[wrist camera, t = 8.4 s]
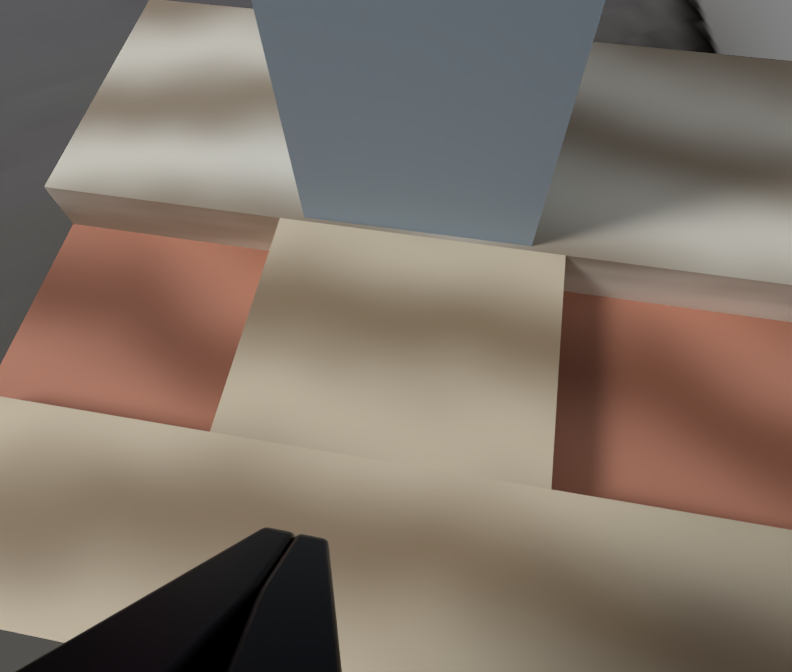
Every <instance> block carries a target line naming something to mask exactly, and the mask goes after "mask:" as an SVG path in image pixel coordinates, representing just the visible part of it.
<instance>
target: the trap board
mask: <svg viewBox="0 0 792 672" xmlns="http://www.w3.org/2000/svg"><path fill="white" fill-rule="evenodd" d="M44 187H45V189H46V190H47V191H48V192H49V194H50V195H51V196H52V197H53V199H54V200H55V201H56V203H57V204H58V205H59V206H60V208H61V209H62V210H63V211H64V213H65V214H66V215H67V217H68V218H69V219H70V220H71V222H72V223H73V226H72V228H71V230H70V231H69V233H68V235H67V237H66V239H65V241H64V243H63V245H62V247H61V249H60V251H59V253H58V255H57V257H56V259H55V260H54V262H53V264H52V266H51V268H50V270H49V272H48V274H47V276H46V278H45V280H44V282H43V284H42V286H41V288H40V290H39V291H38V293H37V295H36V297H35V299H34V301H33V303H32V305H31V307H30V309H29V311H28V313H27V315H26V317H25V319H24V320H23V322H22V324H21V326H20V328H19V330H18V332H17V334H16V336H15V338H14V340H13V342H12V344H11V346H10V348H9V349H8V351H7V353H6V355H5V357H4V359H3V361H2V363H1V365H0V629H2V630H6V631H11V632H16V633H21V634H26V635H30V636H35V637H40V638H45V639H49V640H54V641H59V642H64V643H65V642H67V641H68V640H70V639H72V638H74V637H75V636H77V635H79V634H80V633H82V632H84V631H86V630H87V629H89V628H91V627H93V626H94V625H96V624H98V623H99V622H101V621H103V620H105V619H106V618H108V617H110V616H112V615H113V614H115V613H117V612H118V611H120V610H122V609H124V608H125V607H127V606H129V605H131V604H132V603H134V602H136V601H137V600H139V599H141V598H143V597H144V596H146V595H148V594H149V593H151V592H153V591H155V590H156V589H158V588H160V587H162V586H163V585H165V584H167V583H168V582H170V581H172V580H174V579H175V578H177V577H179V576H181V575H182V574H184V573H186V572H187V571H189V570H191V569H193V568H194V567H196V566H198V565H199V564H201V563H203V562H205V561H206V560H208V559H210V558H212V557H213V556H215V555H217V554H218V553H220V552H222V551H224V550H225V549H227V548H229V547H231V546H232V545H234V544H236V543H237V542H239V541H241V540H243V539H244V538H246V537H248V536H250V535H251V534H253V533H255V532H256V531H258V530H260V529H262V528H265V527H270V528H275V529H280V530H285V531H290V532H293V533H294V534H295V536H297V535H299V534H305V535H311V536H316V537H321V538H325V539H326V540H328V542H329V550H330V560H331V570H332V580H333V590H334V599H335V609H336V619H337V629H338V639H339V648H340V658H341V668H342V672H792V61H785V60H774V59H764V58H753V57H743V56H733V55H723V54H712V53H702V52H692V51H682V50H671V49H661V48H651V47H640V46H630V45H620V44H609V43H599V42H593V43H592V47H591V50H590V54H589V57H588V60H587V64H586V67H585V70H584V74H583V77H582V80H581V84H580V87H579V90H578V94H577V97H576V100H575V104H574V107H573V110H572V114H571V117H570V120H569V124H568V127H567V130H566V134H565V137H564V140H563V144H562V147H561V150H560V154H559V157H558V160H557V164H556V167H555V170H554V174H553V177H552V180H551V184H550V187H549V190H548V194H547V197H546V200H545V204H544V207H543V210H542V214H541V217H540V220H539V224H538V227H537V230H536V234H535V237H534V241H533V244H532V246H525V245H517V244H510V243H502V242H494V241H486V240H478V239H470V238H462V237H455V236H447V235H439V234H431V233H423V232H415V231H407V230H400V229H392V228H384V227H376V226H368V225H360V224H352V223H345V222H337V221H329V220H321V219H313V218H305V217H304V214H303V210H302V206H301V202H300V198H299V194H298V190H297V186H296V181H295V177H294V173H293V169H292V165H291V161H290V157H289V153H288V149H287V145H286V141H285V136H284V132H283V128H282V124H281V120H280V116H279V112H278V108H277V104H276V100H275V95H274V91H273V87H272V83H271V79H270V75H269V71H268V67H267V63H266V59H265V54H264V50H263V46H262V42H261V38H260V34H259V30H258V26H257V22H256V18H255V14H254V9H248V8H238V7H228V6H218V5H207V4H197V3H187V2H176V1H166V0H149V2H148V3H147V5H146V7H145V9H144V11H143V12H142V14H141V16H140V18H139V19H138V21H137V23H136V25H135V27H134V28H133V30H132V32H131V34H130V35H129V37H128V39H127V41H126V42H125V44H124V46H123V48H122V50H121V51H120V53H119V55H118V57H117V58H116V60H115V62H114V64H113V66H112V67H111V69H110V71H109V73H108V74H107V76H106V78H105V80H104V82H103V83H102V85H101V87H100V89H99V90H98V92H97V94H96V96H95V98H94V99H93V101H92V103H91V105H90V106H89V108H88V110H87V112H86V114H85V115H84V117H83V119H82V121H81V122H80V124H79V126H78V128H77V130H76V131H75V133H74V135H73V137H72V138H71V140H70V142H69V144H68V146H67V147H66V149H65V151H64V153H63V154H62V156H61V158H60V160H59V161H58V163H57V165H56V167H55V169H54V170H53V172H52V174H51V176H50V177H49V179H48V181H47V183H46V185H45V186H44Z"/></svg>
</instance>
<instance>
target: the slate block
mask: <svg viewBox="0 0 792 672" xmlns="http://www.w3.org/2000/svg"><path fill="white" fill-rule="evenodd" d="M251 1H252V5H253V9H254V14H255V18H256V22H257V26H258V30H259V34H260V38H261V42H262V46H263V50H264V54H265V59H266V63H267V67H268V71H269V75H270V79H271V83H272V87H273V91H274V95H275V100H276V104H277V108H278V112H279V116H280V120H281V124H282V128H283V132H284V136H285V141H286V145H287V149H288V153H289V157H290V161H291V165H292V169H293V173H294V177H295V181H296V186H297V190H298V194H299V198H300V202H301V206H302V210H303V214H304V217H305V218H313V219H321V220H329V221H337V222H345V223H352V224H360V225H368V226H376V227H384V228H392V229H400V230H407V231H415V232H423V233H431V234H439V235H447V236H455V237H462V238H470V239H478V240H486V241H494V242H502V243H510V244H517V245H525V246H532V244H533V241H534V237H535V234H536V230H537V227H538V224H539V220H540V217H541V214H542V210H543V207H544V204H545V200H546V197H547V194H548V190H549V187H550V184H551V180H552V177H553V174H554V170H555V167H556V164H557V160H558V157H559V154H560V150H561V147H562V144H563V140H564V137H565V134H566V130H567V127H568V124H569V120H570V117H571V114H572V110H573V107H574V104H575V100H576V97H577V94H578V90H579V87H580V84H581V80H582V77H583V74H584V70H585V67H586V64H587V60H588V57H589V54H590V50H591V47H592V43H593V40H594V37H595V33H596V30H597V27H598V23H599V20H600V17H601V13H602V10H603V7H604V3H605V0H251Z"/></svg>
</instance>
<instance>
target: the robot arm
mask: <svg viewBox="0 0 792 672" xmlns="http://www.w3.org/2000/svg"><path fill="white" fill-rule="evenodd" d="M15 672H342V668H341V658H340V648H339V639H338V629H337V619H336V609H335V599H334V590H333V580H332V570H331V560H330V550H329V542H328V540H326V539H325V538H321V537H316V536H311V535H305V534H299V535H297V536H295V534H294V533H293V532H290V531H285V530H280V529H275V528H270V527H265V528H262V529H260V530H258V531H256V532H255V533H253V534H251V535H250V536H248V537H246V538H244V539H243V540H241V541H239V542H237V543H236V544H234V545H232V546H231V547H229V548H227V549H225V550H224V551H222V552H220V553H218V554H217V555H215V556H213V557H212V558H210V559H208V560H206V561H205V562H203V563H201V564H199V565H198V566H196V567H194V568H193V569H191V570H189V571H187V572H186V573H184V574H182V575H181V576H179V577H177V578H175V579H174V580H172V581H170V582H168V583H167V584H165V585H163V586H162V587H160V588H158V589H156V590H155V591H153V592H151V593H149V594H148V595H146V596H144V597H143V598H141V599H139V600H137V601H136V602H134V603H132V604H131V605H129V606H127V607H125V608H124V609H122V610H120V611H118V612H117V613H115V614H113V615H112V616H110V617H108V618H106V619H105V620H103V621H101V622H99V623H98V624H96V625H94V626H93V627H91V628H89V629H87V630H86V631H84V632H82V633H80V634H79V635H77V636H75V637H74V638H72V639H70V640H68V641H67V642H65V643H63V644H62V645H60V646H58V647H56V648H55V649H53V650H51V651H49V652H48V653H46V654H44V655H43V656H41V657H39V658H37V659H36V660H34V661H32V662H30V663H29V664H27V665H25V666H24V667H22V668H20V669H18V670H17V671H15Z"/></svg>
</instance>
